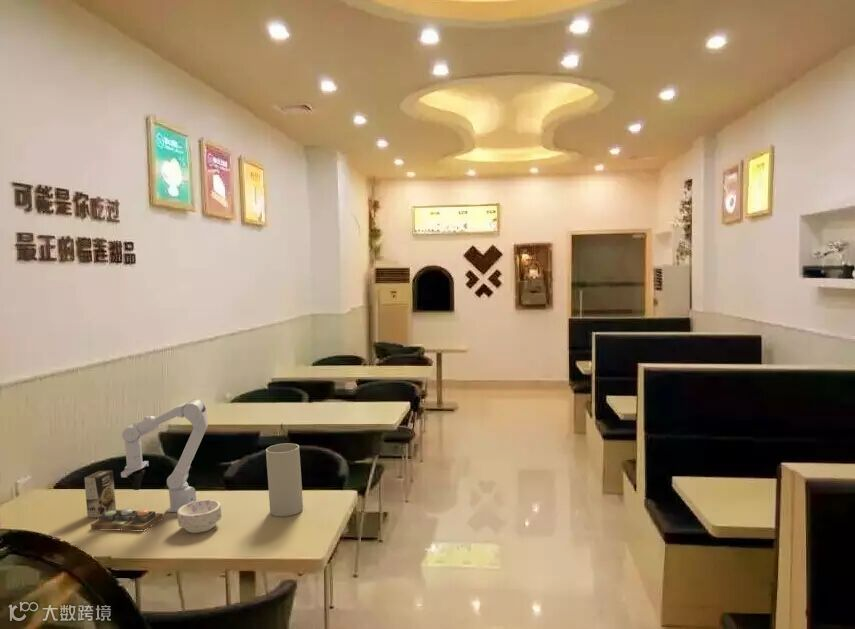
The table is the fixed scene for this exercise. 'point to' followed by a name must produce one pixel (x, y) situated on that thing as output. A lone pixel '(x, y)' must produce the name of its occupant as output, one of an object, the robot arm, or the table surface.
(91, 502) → the coffee box
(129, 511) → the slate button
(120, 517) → the console
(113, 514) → the sage button
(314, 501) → the table surface
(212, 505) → the paper bowls
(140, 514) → the terracotta button
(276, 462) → the cylinder vase
